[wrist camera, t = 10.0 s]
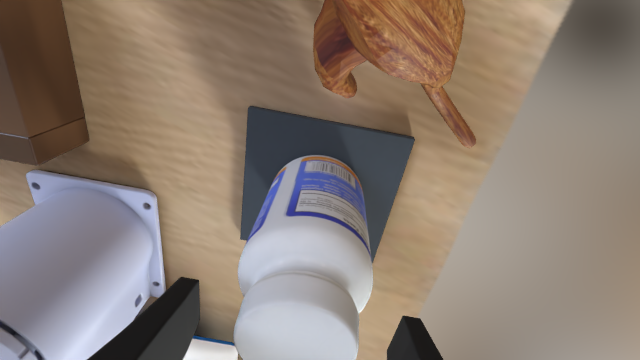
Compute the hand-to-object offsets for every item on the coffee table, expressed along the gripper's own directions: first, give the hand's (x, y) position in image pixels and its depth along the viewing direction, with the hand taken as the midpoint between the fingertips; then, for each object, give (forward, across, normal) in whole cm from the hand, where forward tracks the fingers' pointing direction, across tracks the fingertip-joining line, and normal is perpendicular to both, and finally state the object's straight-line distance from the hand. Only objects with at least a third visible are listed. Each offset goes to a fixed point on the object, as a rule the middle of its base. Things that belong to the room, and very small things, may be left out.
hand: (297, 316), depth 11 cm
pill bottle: (+9, 0, 0) cm, 9 cm away
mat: (+9, 0, 0) cm, 9 cm away
